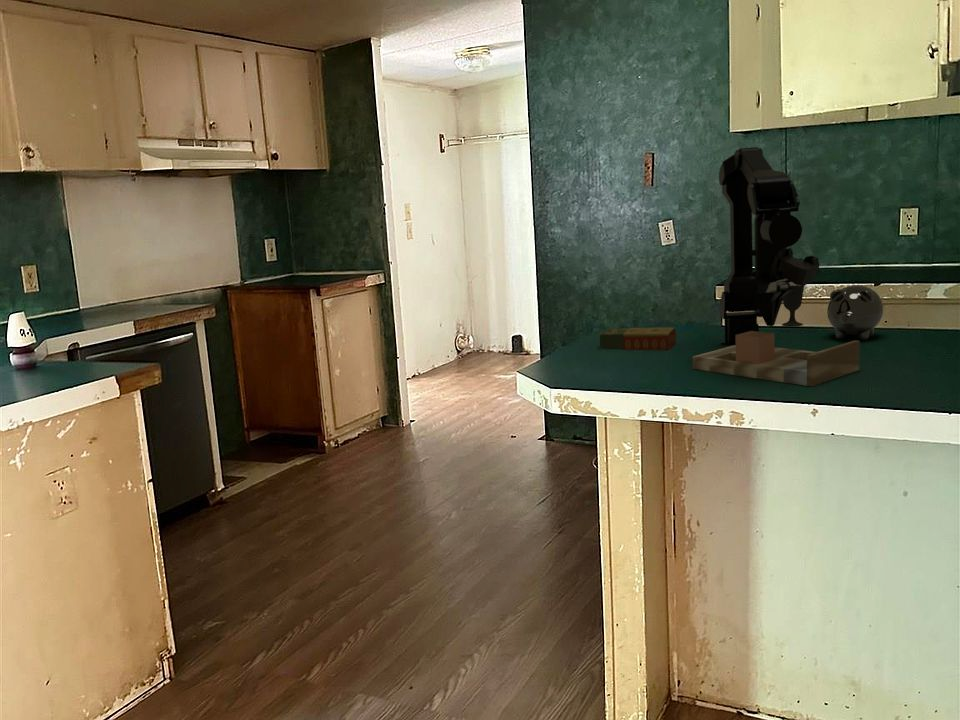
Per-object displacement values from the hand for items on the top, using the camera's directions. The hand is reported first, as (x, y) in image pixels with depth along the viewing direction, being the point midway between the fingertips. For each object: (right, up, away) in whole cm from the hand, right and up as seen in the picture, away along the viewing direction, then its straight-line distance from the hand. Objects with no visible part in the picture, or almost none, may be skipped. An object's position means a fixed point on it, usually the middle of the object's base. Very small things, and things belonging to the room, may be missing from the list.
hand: (770, 325), depth 158 cm
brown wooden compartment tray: (+1, -8, +1) cm, 8 cm away
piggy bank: (+28, -2, +26) cm, 38 cm away
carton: (-19, -4, +33) cm, 38 cm away
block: (-4, -7, -2) cm, 8 cm away
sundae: (+22, +2, +46) cm, 51 cm away
